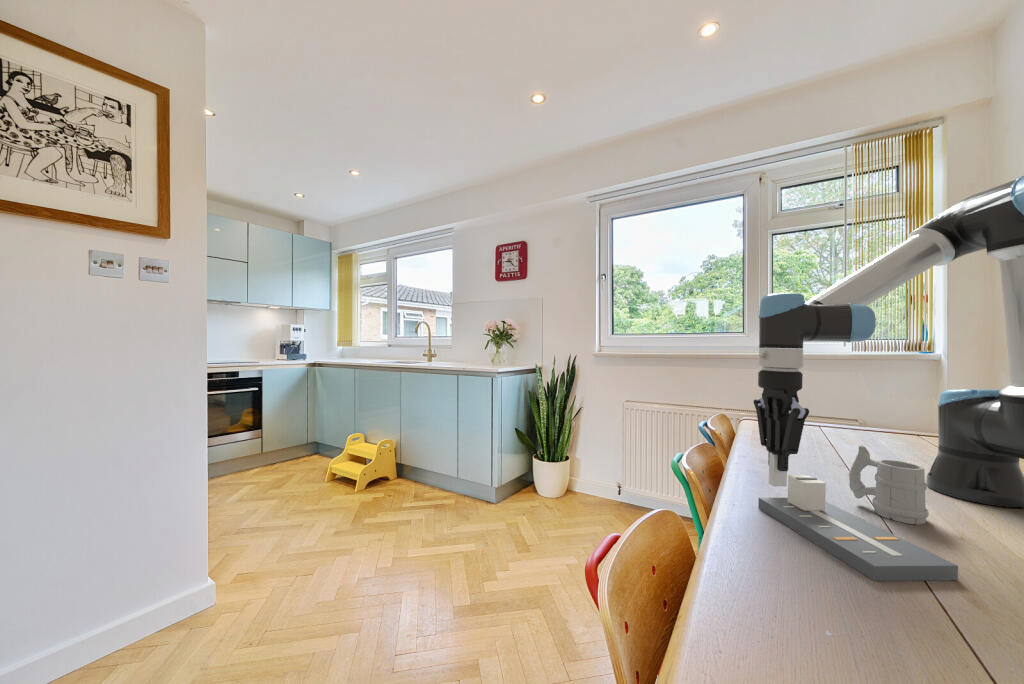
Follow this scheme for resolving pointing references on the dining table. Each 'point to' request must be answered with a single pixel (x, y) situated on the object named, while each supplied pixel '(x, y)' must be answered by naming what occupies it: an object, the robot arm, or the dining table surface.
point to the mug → (892, 488)
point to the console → (861, 543)
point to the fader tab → (806, 493)
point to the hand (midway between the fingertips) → (777, 484)
